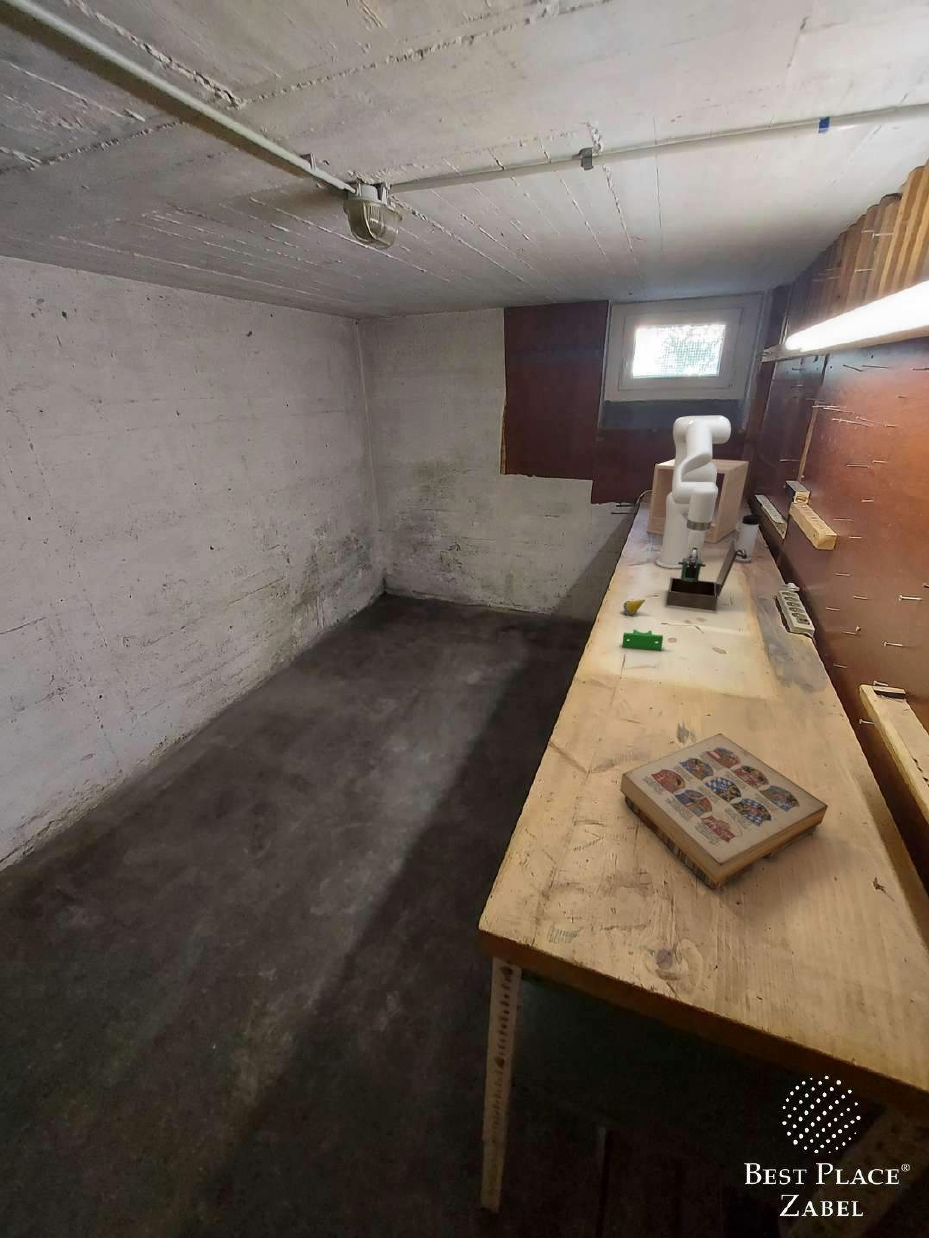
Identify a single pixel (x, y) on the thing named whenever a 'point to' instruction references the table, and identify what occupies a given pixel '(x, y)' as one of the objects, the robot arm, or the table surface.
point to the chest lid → (728, 565)
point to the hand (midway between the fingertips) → (690, 573)
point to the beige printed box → (720, 807)
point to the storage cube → (727, 505)
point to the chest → (692, 594)
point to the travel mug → (747, 536)
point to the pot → (683, 571)
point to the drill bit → (632, 607)
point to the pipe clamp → (642, 640)
